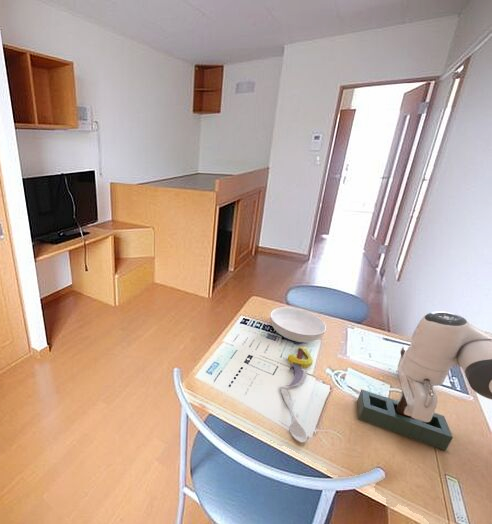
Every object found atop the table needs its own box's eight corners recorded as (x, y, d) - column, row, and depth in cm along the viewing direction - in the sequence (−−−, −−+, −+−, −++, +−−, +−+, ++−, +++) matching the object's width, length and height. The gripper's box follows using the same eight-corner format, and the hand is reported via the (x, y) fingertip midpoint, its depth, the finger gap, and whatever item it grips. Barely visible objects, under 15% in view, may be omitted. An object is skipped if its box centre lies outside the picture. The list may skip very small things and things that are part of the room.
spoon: (292, 445, 81) (293, 440, 81) (276, 387, 100) (277, 383, 99) (309, 448, 80) (310, 443, 80) (289, 389, 99) (290, 385, 99)
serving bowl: (327, 354, 116) (332, 339, 113) (269, 343, 122) (272, 328, 119) (316, 324, 134) (320, 311, 131) (266, 316, 140) (268, 303, 137)
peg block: (437, 428, 86) (444, 415, 84) (445, 450, 80) (453, 437, 78) (356, 401, 95) (361, 389, 93) (358, 419, 89) (363, 406, 87)
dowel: (406, 416, 87) (418, 389, 83) (408, 424, 85) (421, 397, 81) (392, 411, 89) (403, 385, 85) (394, 420, 86) (406, 393, 82)
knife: (304, 397, 96) (313, 354, 116) (306, 391, 95) (315, 348, 114) (278, 386, 100) (291, 347, 119) (280, 380, 99) (292, 341, 118)
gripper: (452, 400, 70) (429, 442, 75) (428, 351, 86) (411, 388, 92) (416, 390, 73) (398, 431, 78) (400, 343, 89) (385, 380, 95)
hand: (405, 407), depth 85 cm, fingers closed on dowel, 3 cm apart
